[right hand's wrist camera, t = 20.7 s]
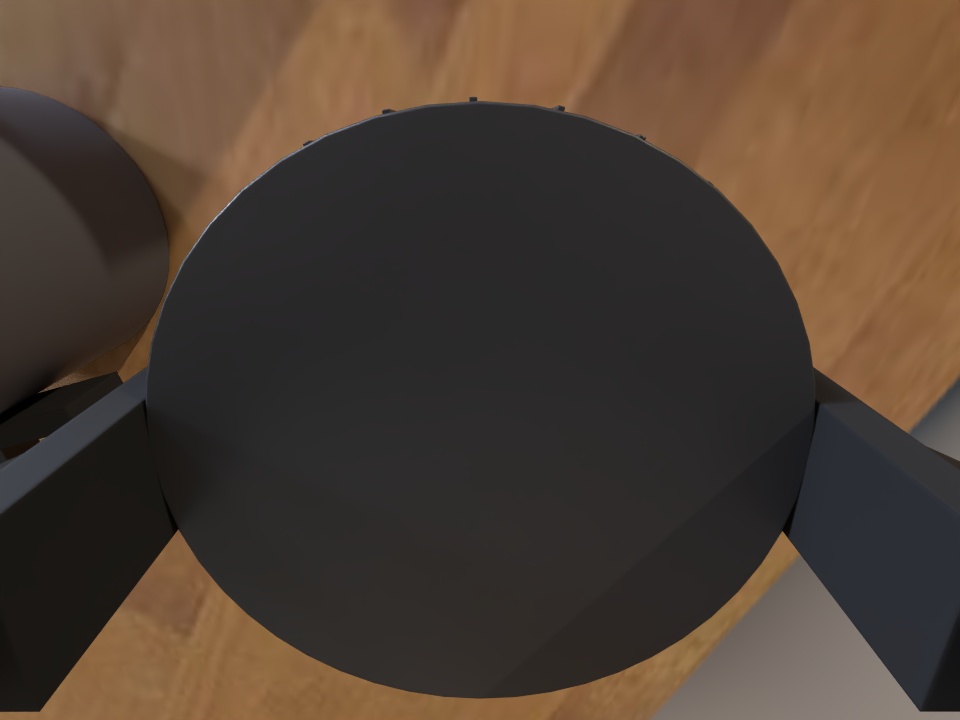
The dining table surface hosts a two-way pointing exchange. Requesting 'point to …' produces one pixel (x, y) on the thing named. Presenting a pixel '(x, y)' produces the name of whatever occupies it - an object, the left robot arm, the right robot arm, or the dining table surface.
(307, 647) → the lid
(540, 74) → the dining table surface
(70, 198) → the jar
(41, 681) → the right robot arm
